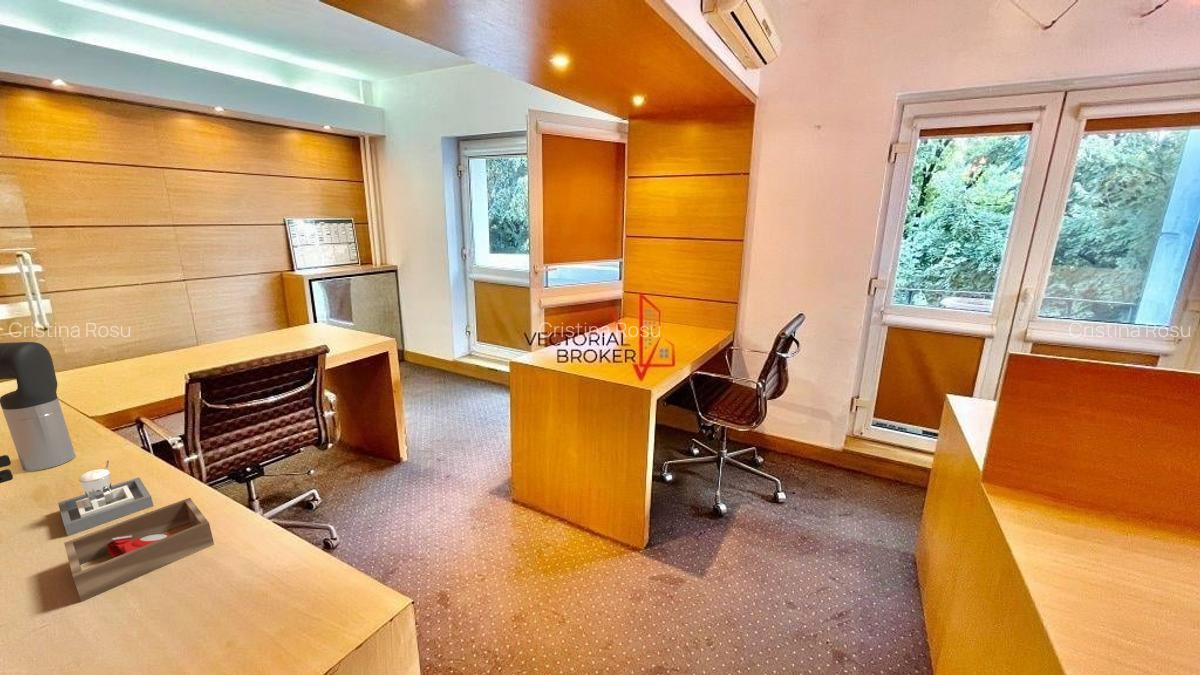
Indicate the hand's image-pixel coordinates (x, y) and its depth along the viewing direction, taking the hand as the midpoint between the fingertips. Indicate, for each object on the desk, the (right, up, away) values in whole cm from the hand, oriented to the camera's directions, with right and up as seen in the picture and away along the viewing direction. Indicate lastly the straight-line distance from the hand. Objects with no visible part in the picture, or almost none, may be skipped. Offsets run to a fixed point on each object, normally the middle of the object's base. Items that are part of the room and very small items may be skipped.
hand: (10, 466), depth 92 cm
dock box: (+8, -13, +11) cm, 18 cm away
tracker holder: (+30, -16, -3) cm, 34 cm away
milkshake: (+8, -12, +11) cm, 18 cm away
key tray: (+30, -16, -3) cm, 35 cm away
